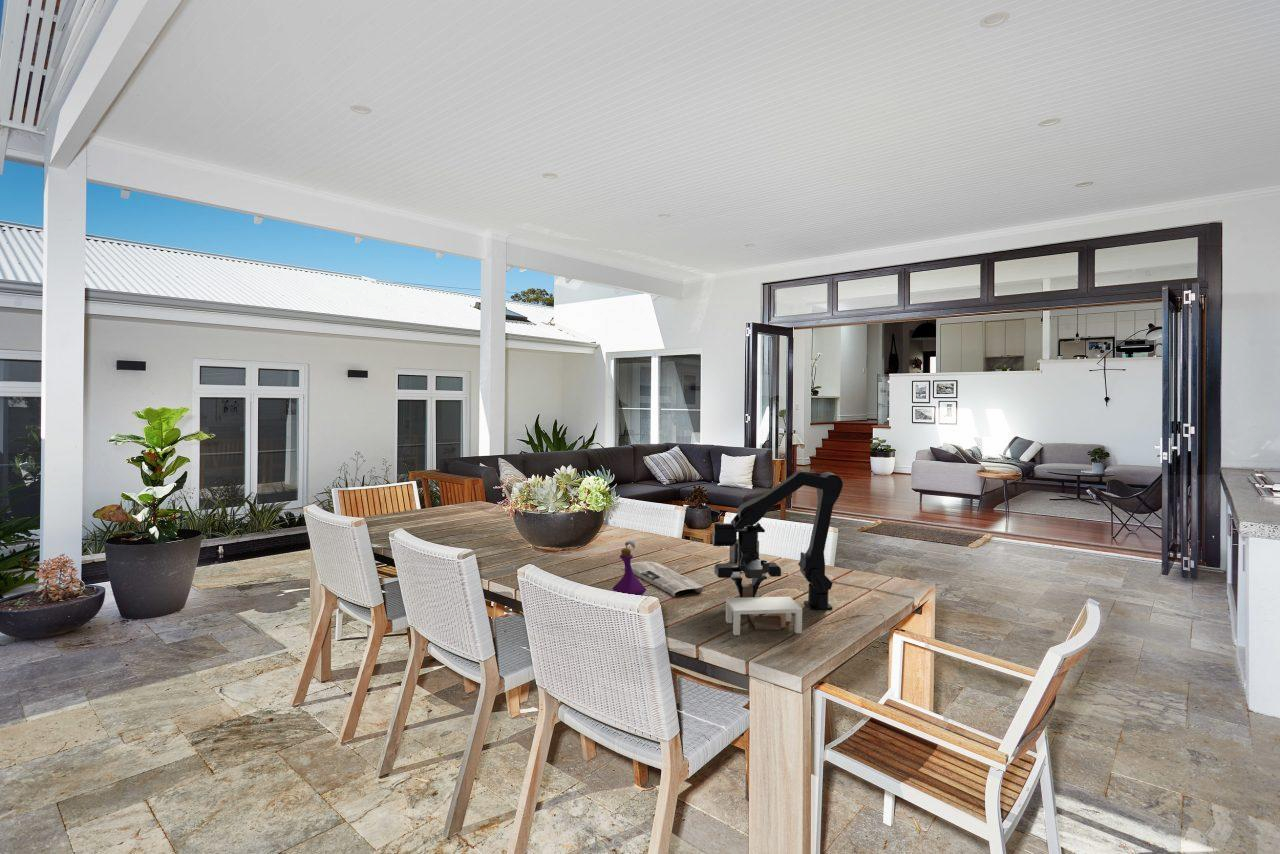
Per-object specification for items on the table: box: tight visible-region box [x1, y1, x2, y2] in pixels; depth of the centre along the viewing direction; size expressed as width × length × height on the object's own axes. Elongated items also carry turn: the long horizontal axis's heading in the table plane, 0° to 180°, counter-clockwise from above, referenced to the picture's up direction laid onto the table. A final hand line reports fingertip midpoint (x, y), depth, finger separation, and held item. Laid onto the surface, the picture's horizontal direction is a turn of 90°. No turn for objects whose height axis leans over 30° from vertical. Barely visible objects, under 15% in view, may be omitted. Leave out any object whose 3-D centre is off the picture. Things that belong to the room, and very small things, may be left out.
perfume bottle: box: [611, 540, 647, 596], centre depth 195 cm, size 8×8×18 cm
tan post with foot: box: [742, 583, 782, 630], centre depth 182 cm, size 20×7×6 cm, turn 0°
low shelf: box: [725, 596, 803, 636], centre depth 173 cm, size 10×18×6 cm, turn 95°
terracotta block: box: [767, 613, 787, 628], centre depth 176 cm, size 4×4×4 cm
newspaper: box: [630, 560, 707, 597], centre depth 215 cm, size 35×12×4 cm, turn 28°
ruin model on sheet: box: [729, 538, 760, 565], centre depth 239 cm, size 11×3×10 cm, turn 117°
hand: (747, 598), depth 191 cm, fingers closed on tan post with foot, 3 cm apart
